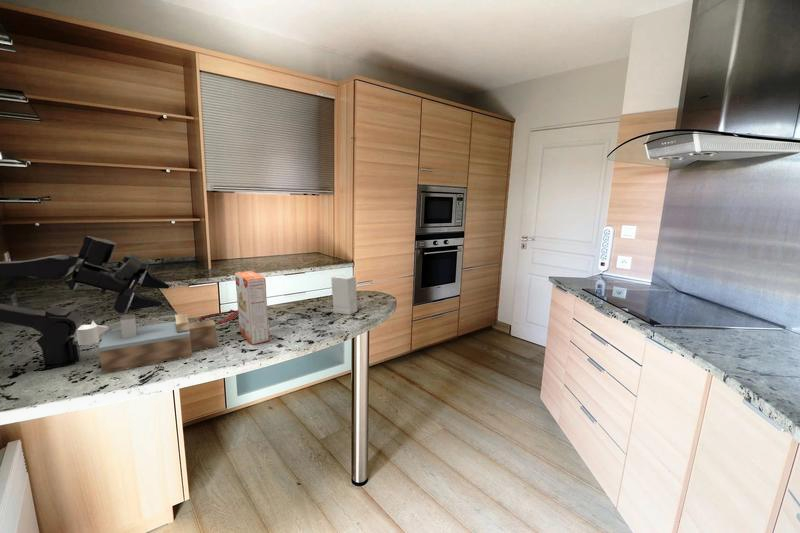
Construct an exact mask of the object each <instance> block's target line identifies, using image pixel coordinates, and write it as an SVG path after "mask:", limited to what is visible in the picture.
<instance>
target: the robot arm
mask: <svg viewBox="0 0 800 533" xmlns="http://www.w3.org/2000/svg"><path fill="white" fill-rule="evenodd" d="M116 246H117V242H115V241H112V240H108V239H105V238H100V237H95V236H94V237H93V236H89V235H87V236H84V238H83V242H82V246H81V248H80V250H79V253H75V254H73V255H69V256H68V255H65V254H55V255H50V256H44V257H39V258H34V259H27V260H11V261H10V260H9V261H0V278H17V277H18V278H19V277H20V278H21V277H24V278H25V277H26V278H33V279H38V280H39V279H42V280H55V281H56V280H60V279H62V278H65V277H67V276H69V275H70V274H71V273H72V275H71V276H70V279H67V280H65V281H64V282H65V284H66V285H67V287H68V289H69V290H70V291H73V290H75V289H77V288H78V285H83V286H87V287H90V288H95V289H98V290H100V294H106V292H110V293H115V294H118V295H117V297H116V299H115V303H114V306H113V308H112V309H113V311H114V312H115V313H116V314H117V313H118V314H121V315H124V314H125V313H126V312H127V313H130V312H131V311H136V310H141V309H148V308H154V307H155V308H157V307H162V306H163V302H162V301H160V300H158V299H154V298H151V297H148V296H145V295H143V294H142V293H141V292H140V291H139V290H138V289H136V287H137V286H140V288H149V289H150V288H151V289H152V288H153V289H166V290H167V289H169V288H170V284H168V283H167V282H165V281H163V280H161V279H160V278H158V277H157V275H156V276H155V275H154V274H153V272H152V271H151V267H150V266H149V264H148V263H145V262H143V261H141V260H140V257H139V255H134V254H129V253H127V254H126V255H124V256H123V258H122V259H121V260H122V262H123V263H122V265H121V266H120V267H115V266H114V267H111V269H109V268H105V267H103V266H104V264H109V263H110V261H111V259H112V257H113V255H114V252H115V249H116ZM78 264H81V265H80V267H79V268H76V269H75V267H76V266H78ZM135 289H136V290H135ZM83 321H84V320H83V318H82V316H81V314H80V313H79V312H77V311H74V310H73V308H64V307H60V306H57V305H53V306H51V307H50V308H49V309H47V310H38V309H33V308H27V307H21V306H16V305H11V304H5V303H0V323H3V324H9V325H15V326H20V327H27V328H29V329H30V328H31V329H33V330H35V331H36V332H38V333H40V334H41V336H40V337H39V338H38V339H37V340H36V343H37V344H38V346H39V347H40V348H41V354H42V360H43V365H42V370H47V369H51V368H52V369H53V368H58V367H64V366H70V365H75V364H76V363H77V361H78V359H80V357H81V353H80V345H79V344H78V341H76V337H75V333H76V330H77V329H78V328H79V327H80V326H81V325H83Z"/></svg>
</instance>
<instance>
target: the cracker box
mask: <svg viewBox="0 0 800 533" xmlns="http://www.w3.org/2000/svg"><path fill="white" fill-rule="evenodd" d="M234 278H235V290H236V302H237V310H238V326H239V328H238V329H239V333H240V332H241V333H240V334H241V335H242V336H243V337H244V338H245V340H247V342H248V343H249V344H250V345H252V346H253V345H259V344H262V343H265V342H270V331H269V317H268V316H269V315H268V301H267V300H268V299H267V286H266V285H267V283H266V277H264V276H262V275H260V274H259V273H257V272H255V271H253V270H248V271H247V270H246V271H238V272H235V273H234Z"/></svg>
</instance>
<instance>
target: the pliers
mask: <svg viewBox="0 0 800 533" xmlns="http://www.w3.org/2000/svg"><path fill="white" fill-rule="evenodd" d="M231 312H234V313H233V314H231V315H230V316H229V317H225V318H221V319H220V320H218V321H217V325H218V324H222V323H226V322H228V321H231V320H232V319H234V318H235V317H236V316H237V315H238V309H236V310H235V309H229V310H228V311H222V312H217V313H215V312H214V313H210V314H206V315H204V316H201V317H199V318H198V322H199V321H202V320H205V318H210V317H215V316H213V315H218V316H221V315H219V314H224V315H227V314H225V313H231ZM206 316H210V317H206ZM202 317H203V318H202Z"/></svg>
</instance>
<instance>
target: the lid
mask: <svg viewBox="0 0 800 533" xmlns="http://www.w3.org/2000/svg"><path fill="white" fill-rule="evenodd" d="M119 321H120V327H121V328H120V329H119V328H118V329H113V330H106V331H105V332H104V334H103V335H102V337H101V338H102V339H101V341H100V343H99V346H98V353H99V352H100V351H106V350H112V349H118V348H124V347H130V346H136V345H142V344H148V343H154V342H161V341H167V340H173V339H179V338H185V337H190V331H183V332H177V328H176V320H175V321H170V322H162V323H156V324H148V325H142V326H137V320H136V315H135V314H132V315H131V314H130V315H124V316H123V315H122V316H120V320H119Z"/></svg>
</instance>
